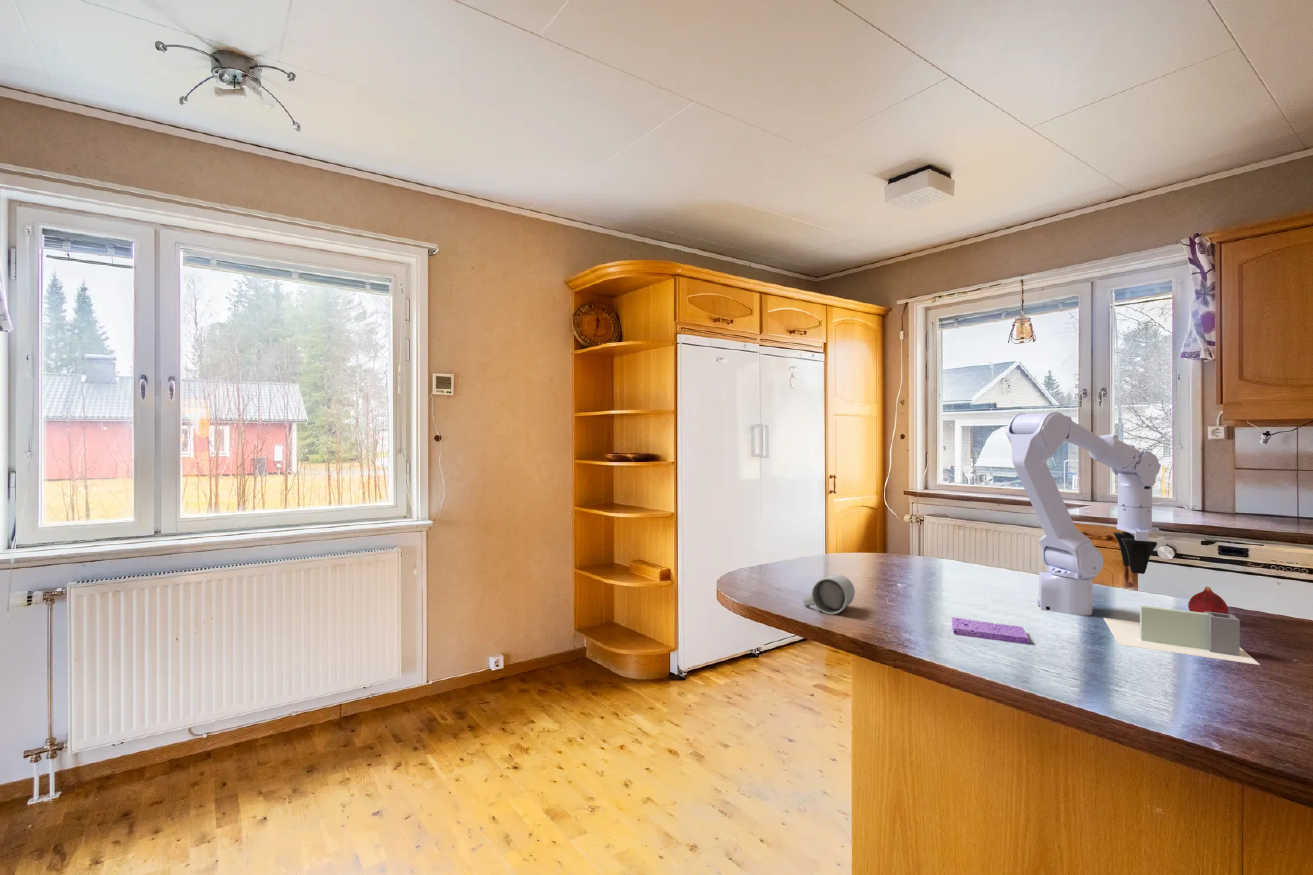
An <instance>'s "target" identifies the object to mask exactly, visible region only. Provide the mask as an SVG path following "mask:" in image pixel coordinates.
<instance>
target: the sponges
mask: <svg viewBox="0 0 1313 875" xmlns="http://www.w3.org/2000/svg"><path fill="white" fill-rule="evenodd" d="M951 628H952V633H953V635H955V636H964V637H971V638H979V639H985V640H992V641H993V640H994V641H1002V642H1008V643H1009V642H1010V643H1015V644H1023V645H1028V644H1029V643H1030V637H1029V635H1028V634H1027V633H1026V631H1025V629H1024V627H1023V626H1019V625H1009V624H1001V623H1000V624H999V623H993V622H988V621H979V620H975V619H968V618H967V619H965V618H961V617H953V616H952V617H951Z"/></svg>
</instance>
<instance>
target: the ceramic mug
mask: <svg viewBox="0 0 1313 875" xmlns="http://www.w3.org/2000/svg"><path fill="white" fill-rule="evenodd" d="M855 592H856V591H855V588H854V584H853V583H852V582H851V580H850V579H849V578H847V577H846V576H844V575H841V574H832V575H831V574H830V575H828V576H825V577H823V578H820V579H818V580H817V581H816V582H815V583H814V585H813V587H812V588H811V595H809V596H806V597H805V598H802V602H803V604H804V606H805V607H808V606H812V605H814V606H815V607H816V609H818V610H819V611H820V612H822V613H824V614H826V615H837V614H839V613H841V612H842V611H844V610H845V609H846V608H847V607H848V606H849V605H850V604H851V603H852V602H853V601H854V598H855Z"/></svg>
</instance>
